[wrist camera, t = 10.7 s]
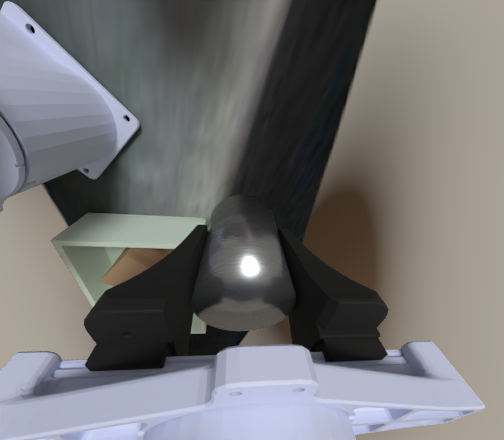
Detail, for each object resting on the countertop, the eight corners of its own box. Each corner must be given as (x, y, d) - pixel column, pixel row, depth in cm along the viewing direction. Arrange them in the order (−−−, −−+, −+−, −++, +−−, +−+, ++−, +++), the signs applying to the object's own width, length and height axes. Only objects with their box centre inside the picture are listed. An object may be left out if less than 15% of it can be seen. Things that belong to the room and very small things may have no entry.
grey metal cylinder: (198, 226, 15) (170, 311, 9) (238, 181, 13) (238, 251, 7) (245, 255, 17) (248, 339, 11) (286, 220, 15) (316, 299, 9)
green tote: (88, 212, 21) (50, 240, 17) (206, 218, 22) (198, 244, 18) (128, 302, 30) (110, 335, 26) (209, 302, 31) (205, 333, 27)
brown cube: (125, 248, 23) (100, 280, 19) (146, 225, 22) (124, 255, 17) (160, 267, 25) (144, 300, 21) (182, 248, 24) (170, 279, 20)
